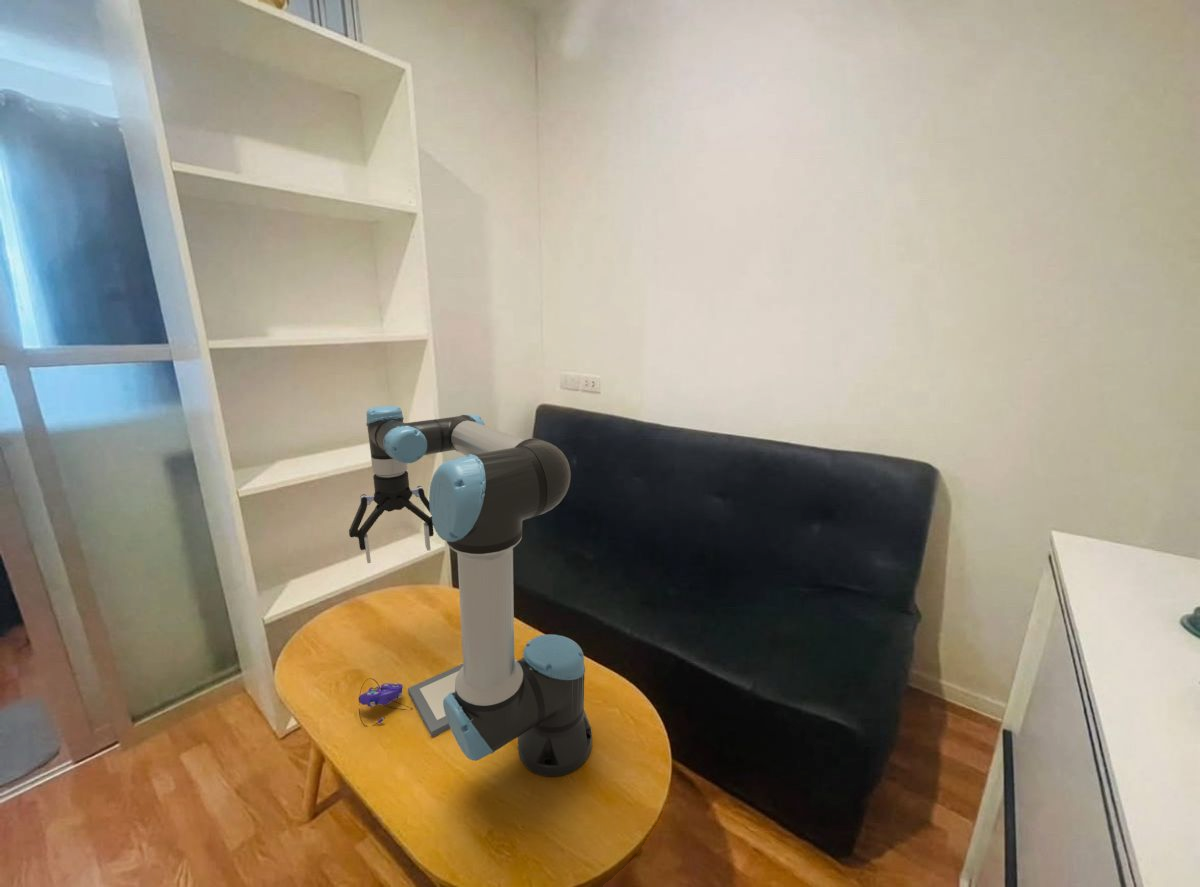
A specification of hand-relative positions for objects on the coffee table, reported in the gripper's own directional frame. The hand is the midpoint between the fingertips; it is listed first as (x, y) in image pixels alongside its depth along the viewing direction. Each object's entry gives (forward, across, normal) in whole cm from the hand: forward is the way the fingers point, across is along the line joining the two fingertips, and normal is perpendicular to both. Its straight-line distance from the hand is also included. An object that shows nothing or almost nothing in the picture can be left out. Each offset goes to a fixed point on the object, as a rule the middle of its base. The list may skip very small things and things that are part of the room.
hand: (399, 554), depth 119 cm
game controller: (+28, +7, +19) cm, 34 cm away
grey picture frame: (+27, -6, +22) cm, 36 cm away
